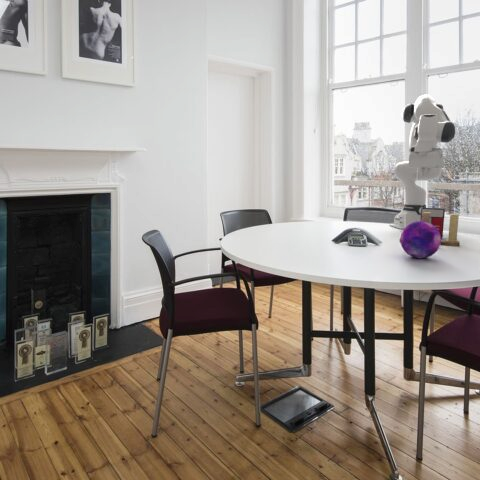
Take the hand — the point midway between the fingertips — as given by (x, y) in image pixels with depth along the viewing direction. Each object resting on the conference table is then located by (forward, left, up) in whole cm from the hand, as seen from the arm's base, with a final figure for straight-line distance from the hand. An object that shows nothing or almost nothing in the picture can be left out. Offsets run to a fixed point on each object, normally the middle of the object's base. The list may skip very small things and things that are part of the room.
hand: (424, 177), depth 214 cm
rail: (+8, -2, -31) cm, 32 cm away
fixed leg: (+15, +6, -30) cm, 34 cm away
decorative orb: (+35, -30, -31) cm, 56 cm away
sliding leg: (+7, -3, -29) cm, 30 cm away
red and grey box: (-6, +12, -31) cm, 34 cm away
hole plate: (+5, +7, -31) cm, 32 cm away
